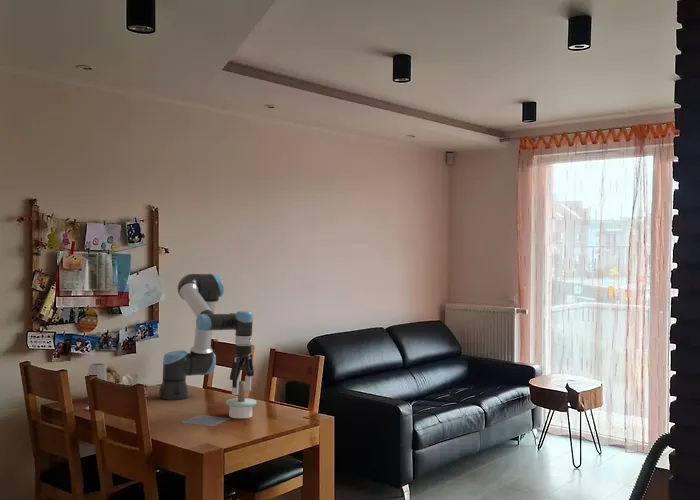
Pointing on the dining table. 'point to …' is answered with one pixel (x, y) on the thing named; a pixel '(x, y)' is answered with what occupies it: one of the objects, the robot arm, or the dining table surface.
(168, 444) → the dining table surface
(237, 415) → the bowl
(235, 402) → the lid
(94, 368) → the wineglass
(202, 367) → the robot arm
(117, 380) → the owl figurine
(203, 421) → the mat
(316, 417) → the dining table surface
